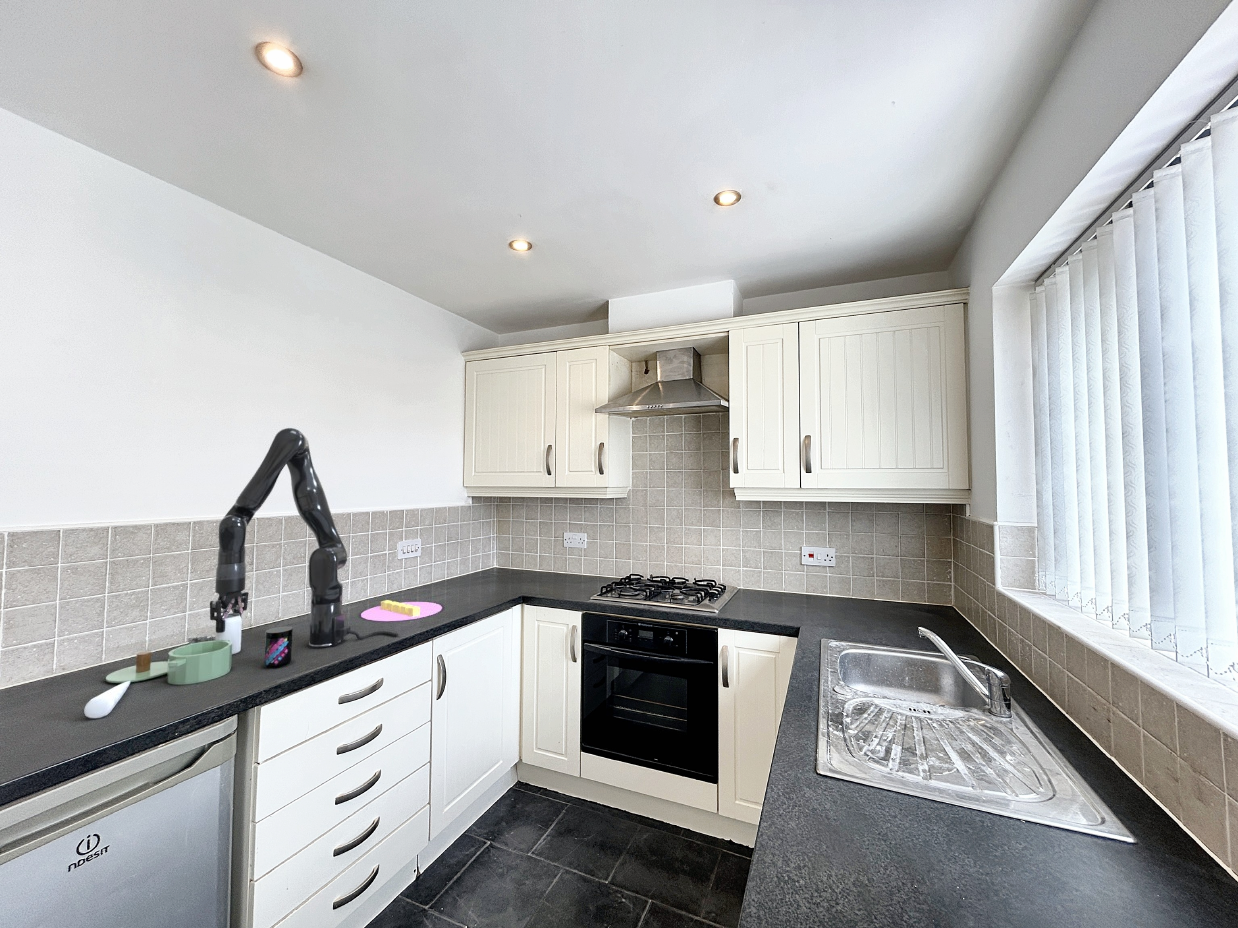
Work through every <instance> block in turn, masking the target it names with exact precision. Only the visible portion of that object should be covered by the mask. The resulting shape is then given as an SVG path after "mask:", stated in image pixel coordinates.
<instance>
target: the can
mask: <svg viewBox="0 0 1238 928" xmlns="http://www.w3.org/2000/svg"><path fill="white" fill-rule="evenodd" d="M222 615H223V614H221V616H222ZM242 621H243V620H242V616H241V617H240V614H239V613H233V612H230V613H228V614H227V616H226V618H225V631H224V632H222V633H217V632H216V631H215V634H214V635H215V636H214V638H215V641H221V640H230V642H231V643H232V656H233V655H236V654H238V653H240V652H241V649H242V648H241V647H242V627H243V624H242V623H243V622H242Z"/></svg>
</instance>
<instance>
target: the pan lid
mask: <svg viewBox="0 0 1238 928" xmlns="http://www.w3.org/2000/svg"><path fill="white" fill-rule="evenodd" d="M135 657H136V658H135V665H132V666H128V667H124V668H120V669H117V670H115V671H112V672H111V673H109V674H107V675H106V677H105V681H106V682H108V683H114V684H122V683H124V682H127V681H130V683H133V682H140V681H146V680H149V679H154V678H157V677H160V676H164V675H167V667H168V661H153V662H152V651H151V650H147V651H146V650H145V651H140V652H137V653H136V656H135Z"/></svg>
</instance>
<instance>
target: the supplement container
mask: <svg viewBox="0 0 1238 928" xmlns="http://www.w3.org/2000/svg"><path fill="white" fill-rule="evenodd" d="M293 631H294V628H293V626H284V625H283V626H275V627H272V628H269V629H268V628H267V629H266V630H265V643H264V666H265V667H266V668H267V669H278V668H282V667H285V666H288V665H289V664H290V663H291V662H292V658H293V657H292V656H293V655H292V653H293V633H294V632H293Z"/></svg>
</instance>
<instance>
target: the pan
mask: <svg viewBox="0 0 1238 928" xmlns="http://www.w3.org/2000/svg"><path fill="white" fill-rule="evenodd" d="M232 656H233V655H232V643H231V642H230V640H221V641H206V642H199V643H194V644H189V643H188V644H185V645H182V646H179V647H176V648H174V649H171V650H170V651H169V652H167V662H168V667H167V673H166V680H167V683H168V684H170V685H175V686H176V685H180V686H181V685H192V684H193V685H194V684H197V683H198V684H199V683H203V682H207V681H210V680H214V679H218V678H220V677H223V676H225V675H227V674H228V673H229V672H230V671H231V670H232V669H231V668H232V661H233V660H232V659H233V657H232Z"/></svg>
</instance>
